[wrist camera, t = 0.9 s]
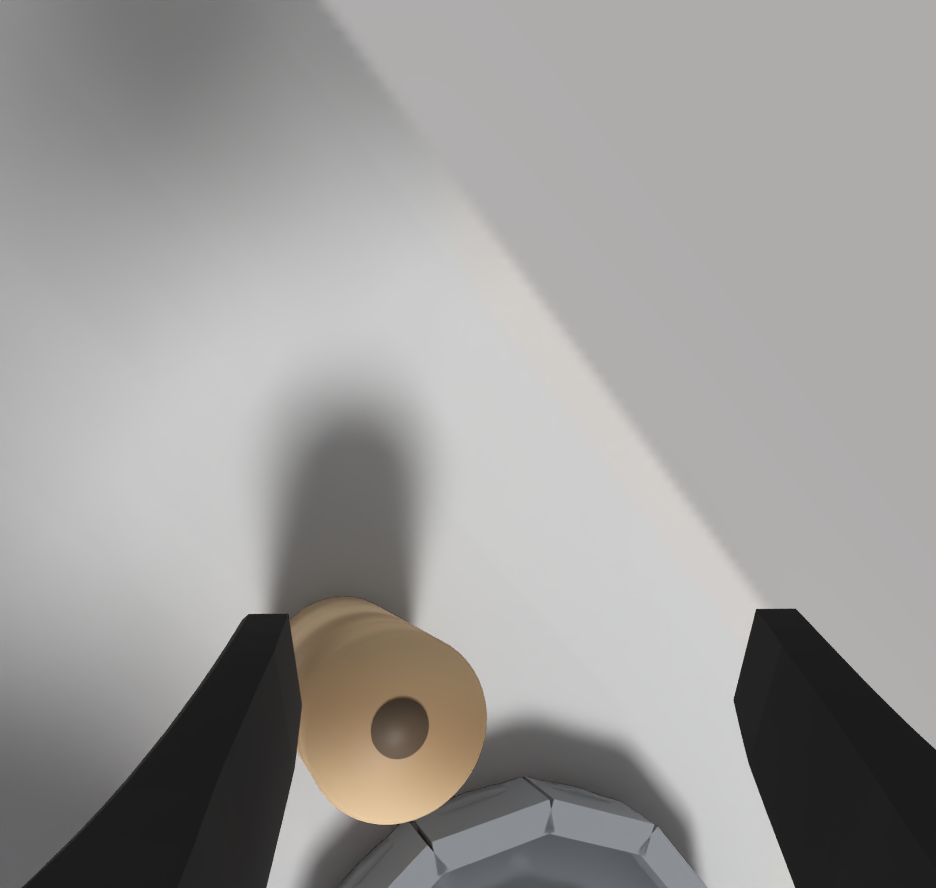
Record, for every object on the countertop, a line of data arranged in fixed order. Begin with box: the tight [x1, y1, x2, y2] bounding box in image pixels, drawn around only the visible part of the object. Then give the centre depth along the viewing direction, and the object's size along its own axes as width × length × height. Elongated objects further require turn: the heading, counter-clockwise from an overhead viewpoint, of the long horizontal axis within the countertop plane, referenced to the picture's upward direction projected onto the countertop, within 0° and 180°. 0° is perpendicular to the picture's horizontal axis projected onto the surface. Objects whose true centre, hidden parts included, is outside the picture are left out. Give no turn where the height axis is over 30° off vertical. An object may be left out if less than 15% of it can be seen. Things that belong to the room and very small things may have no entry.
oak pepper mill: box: [290, 597, 487, 825], centre depth 23 cm, size 4×4×6 cm
